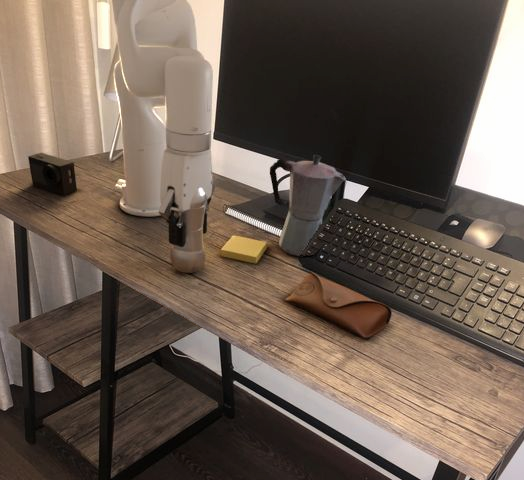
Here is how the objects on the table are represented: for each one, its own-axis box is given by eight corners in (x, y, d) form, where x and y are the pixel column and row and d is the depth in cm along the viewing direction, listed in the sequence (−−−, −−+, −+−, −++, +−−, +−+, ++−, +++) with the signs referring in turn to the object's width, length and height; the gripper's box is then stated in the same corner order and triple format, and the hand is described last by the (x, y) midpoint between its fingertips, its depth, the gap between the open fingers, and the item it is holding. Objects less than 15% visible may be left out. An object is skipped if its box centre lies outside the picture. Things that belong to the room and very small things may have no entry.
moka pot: (330, 263, 114) (347, 167, 103) (257, 251, 116) (266, 155, 104) (335, 244, 122) (351, 152, 110) (266, 233, 124) (275, 141, 112)
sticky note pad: (220, 256, 113) (220, 249, 112) (233, 241, 119) (233, 234, 118) (255, 263, 112) (256, 257, 111) (266, 248, 118) (267, 242, 117)
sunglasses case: (281, 299, 100) (295, 265, 99) (297, 304, 106) (311, 271, 105) (368, 340, 92) (385, 303, 91) (380, 342, 98) (396, 308, 97)
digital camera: (28, 186, 134) (23, 157, 130) (45, 180, 138) (41, 151, 134) (60, 197, 130) (56, 167, 126) (77, 190, 134) (73, 161, 130)
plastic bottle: (171, 260, 110) (169, 159, 98) (205, 261, 111) (208, 161, 99) (169, 276, 105) (167, 171, 93) (205, 277, 106) (208, 173, 94)
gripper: (199, 125, 101) (197, 218, 111) (137, 146, 88) (142, 248, 99) (234, 134, 98) (229, 228, 109) (175, 156, 86) (176, 261, 96)
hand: (188, 237), depth 104 cm, fingers open, 6 cm apart
